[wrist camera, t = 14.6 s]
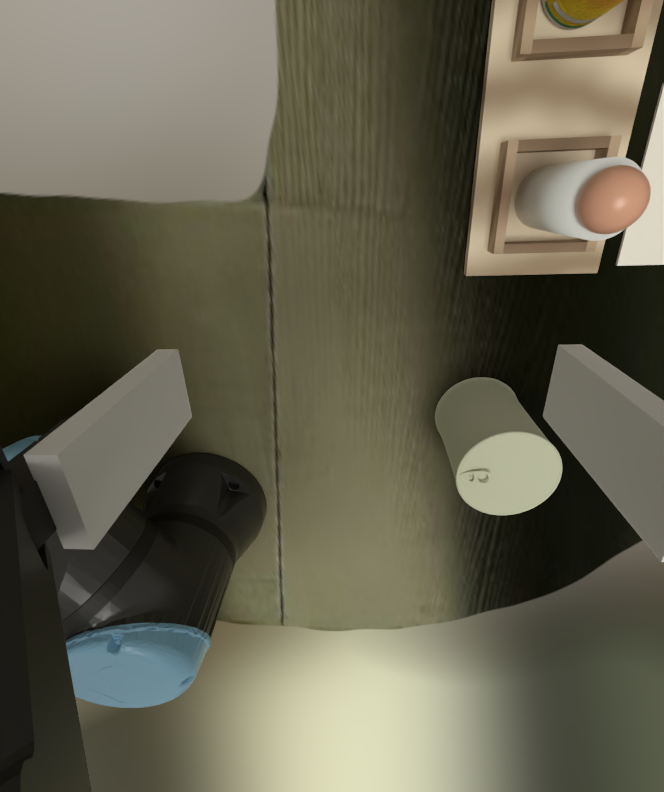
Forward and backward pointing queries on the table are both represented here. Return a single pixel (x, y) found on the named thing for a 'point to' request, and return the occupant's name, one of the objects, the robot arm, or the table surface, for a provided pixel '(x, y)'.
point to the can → (495, 448)
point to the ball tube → (584, 198)
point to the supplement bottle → (576, 11)
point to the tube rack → (550, 123)
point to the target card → (660, 223)
